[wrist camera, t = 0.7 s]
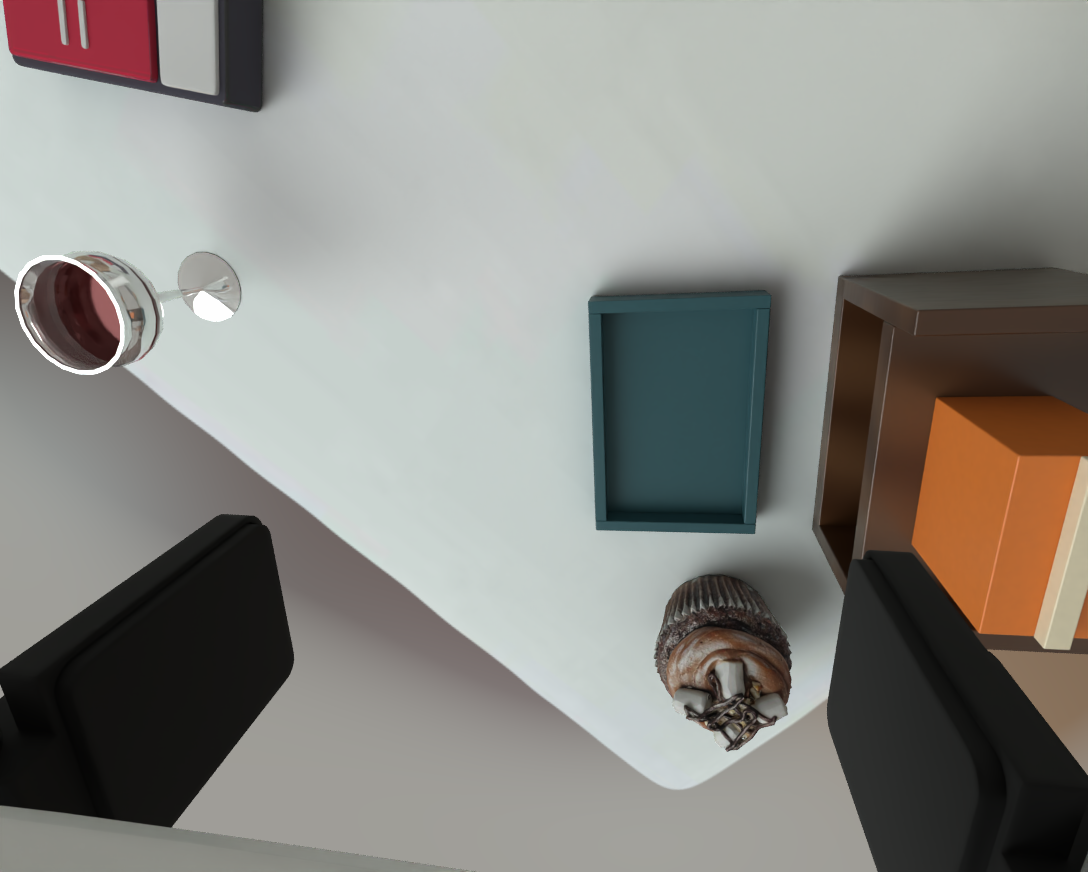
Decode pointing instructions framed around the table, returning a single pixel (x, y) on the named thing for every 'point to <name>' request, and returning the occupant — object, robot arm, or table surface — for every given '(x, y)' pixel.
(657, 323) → the tray
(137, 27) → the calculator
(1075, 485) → the packet
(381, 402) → the table surface
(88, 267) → the wineglass
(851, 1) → the table surface
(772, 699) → the cupcake
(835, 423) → the shelf
